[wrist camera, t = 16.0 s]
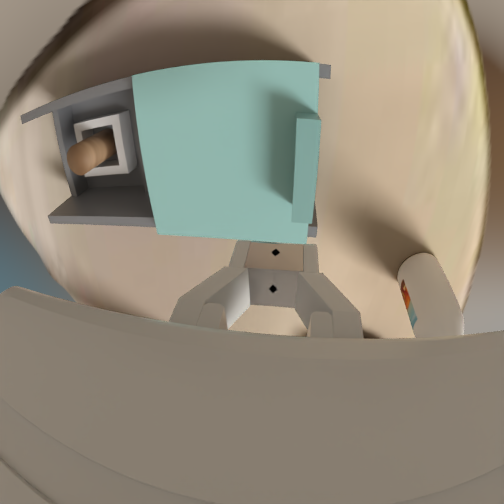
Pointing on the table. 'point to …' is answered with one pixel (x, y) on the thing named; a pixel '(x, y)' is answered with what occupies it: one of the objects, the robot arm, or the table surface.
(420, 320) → the milk bottle
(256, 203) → the lid
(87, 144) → the tan rounded cylinder
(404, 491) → the robot arm
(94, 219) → the housing
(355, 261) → the table surface
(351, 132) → the table surface
